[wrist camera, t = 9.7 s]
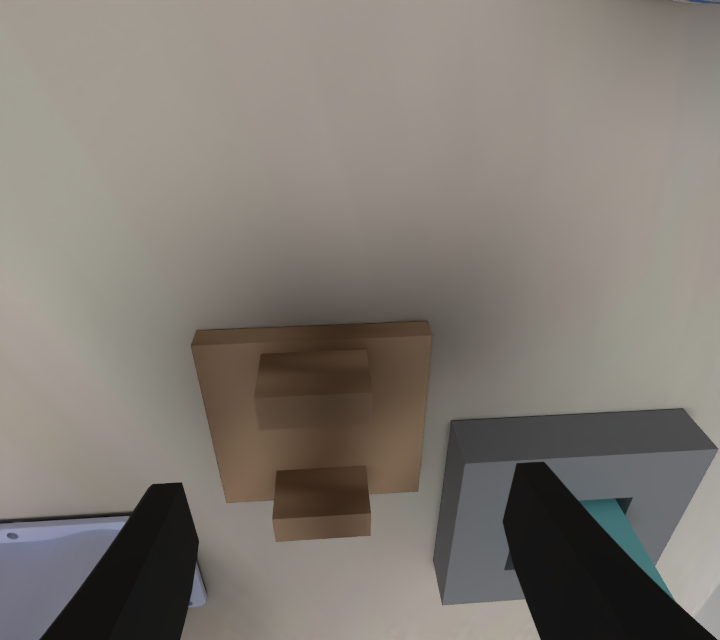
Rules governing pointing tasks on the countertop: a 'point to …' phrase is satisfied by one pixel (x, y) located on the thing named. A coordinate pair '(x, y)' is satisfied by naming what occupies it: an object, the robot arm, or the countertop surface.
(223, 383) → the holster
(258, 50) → the countertop surface
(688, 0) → the supplement tub
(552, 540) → the robot arm
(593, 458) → the port
